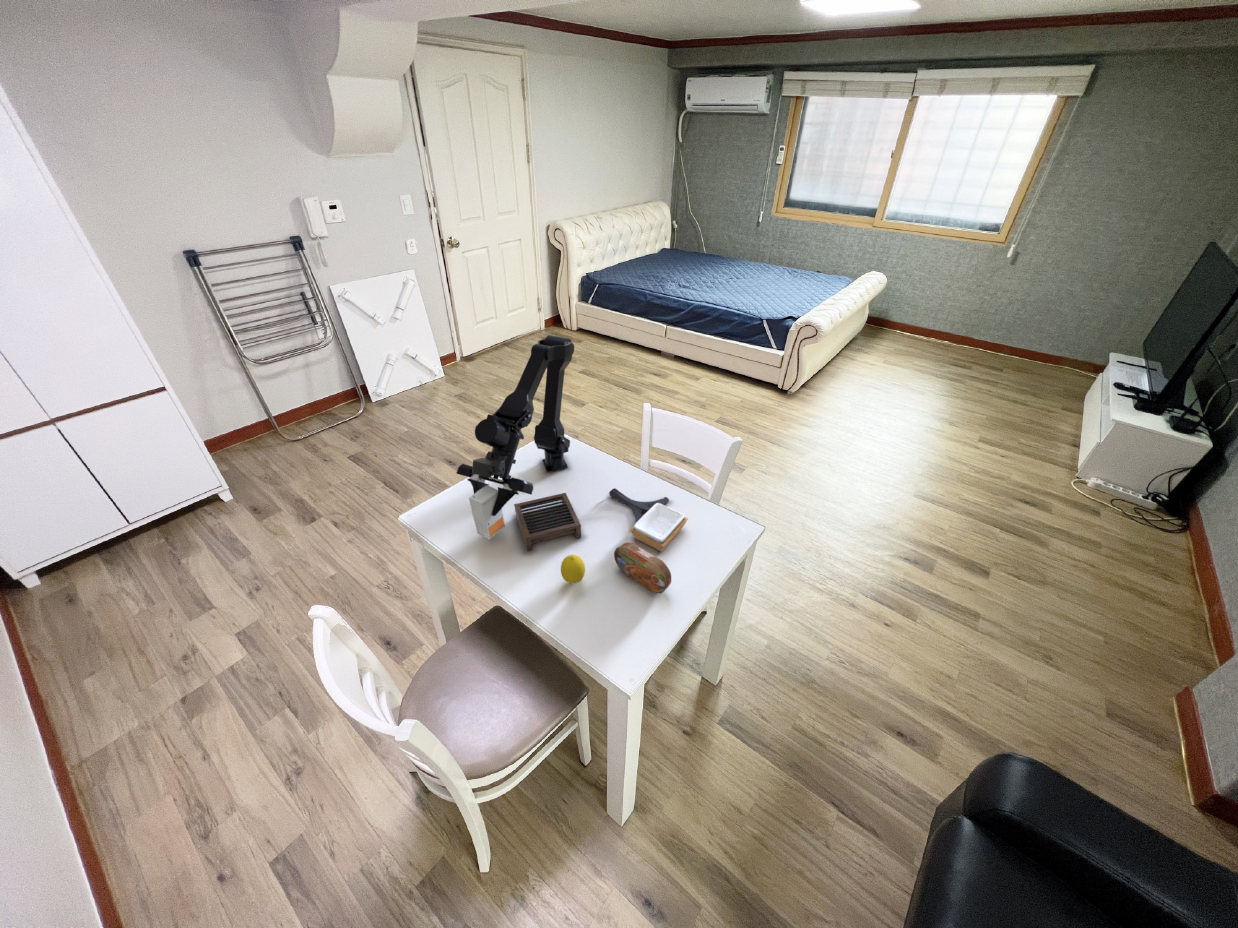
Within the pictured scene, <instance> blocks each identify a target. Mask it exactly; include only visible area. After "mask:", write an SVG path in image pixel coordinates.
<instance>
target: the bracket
mask: <svg viewBox="0 0 1238 928" xmlns="http://www.w3.org/2000/svg"><path fill="white" fill-rule="evenodd" d="M608 493H609V497H610V498H612V499H614V500H616V501H618V502H620V503H622V504H624V505H626V506H628V507H630V508H631V509H632V511H633V513H634V516H635V517H634V518H635V521H634V525H635V524H636V522H637V521H638V520H639V519H640V518H641V517H642V516H643V515H644V514H645V513H646V512H647V511H649V510H650V509H651V508H652V507H653V506H654V505H655V504H656V503H660V504H662V505H664V506H666V505H667V504H668V503H669V498H668V497H667V496H665V497H663V498H660V499H657V500H651V501H641V500H635V499H631V498H629V497H628V496H627V495H626V494H624V493H622V492H621V491H619V490H618V489H617V488H615V487H614V488H612V489H610V491H609V492H608Z"/></svg>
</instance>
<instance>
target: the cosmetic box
mask: <svg viewBox="0 0 1238 928" xmlns="http://www.w3.org/2000/svg"><path fill="white" fill-rule="evenodd" d="M497 496H498V489H497V488H494V487H492V486H490V485H489V486H488V485H486V486H485V487H483V488H482V489H480V490H479V491H477V492H476V493H475V494H474V493H473V494H472V495H470V496H469V497H468V500H469V501H468V502H469V505H470V509H471V513H472V516H473V521H474V527H475V531H476V534H477V535H479V536H480V537H482V538H484V539H486V540H488V541H490V539H492V538H493V537H494V536H496V535H497V533H499V532H500V531H501V530H503V529H504V528H506V523H505V517H504V513H503V508H502V509H501V510H500V511H499V512H498V513H497V515H496V516H492V512H493V508H494V505H495V502H496V499H497Z"/></svg>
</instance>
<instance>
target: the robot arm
mask: <svg viewBox="0 0 1238 928" xmlns="http://www.w3.org/2000/svg"><path fill="white" fill-rule="evenodd" d="M574 352H575V344H574V343H573V342H572V339H570V338H568V337H563V336H557V335H552V334H548V335H546V337H545V338H542V339H538V340H537V343H535V344H533V345H532V346H531V349H530V356H529V358H528V361H527V362H526V365H525V366H524V369H523V372H522V374H521V376H520V378H519V380H518V382H517V385H516V387H515V389H514V391H512V392H511V393H509V394H508V395H507V396H506V397H505V398H504V400H503V402H502V403H501V405H500V407H498V409H496V410H495V412H494V413H493V414H490V413H488V414H487V416H486V418H484V419H482V420H480V421H479V422H478V423H477V425H475V428H474V436H475V439H476V440H477V441H478V442H480V443H482V444H484V445H487V446H489V447H491V451H487V452H486V455H485V457H479V458H476V459H473V460H472V465H468V464H466V463H461V464H460V465H459V466H458V467H457V470H456V475H460V476H464V477H468V478H466V479H467V481H468V482H470V484H471V486H472V492H473V495H474V494H475V493H476V492H477V491H479V490H480V489H482V488H483V487H485V486H486V485H488V486H490V484H489V483H486V481H488V482H492V483H495V484H499V485H502V487H500V486H498V487H497V490H498V496H497V499H496V502H495V505H494V508H493V512H492V516H496V515H497V513H498V512H499V511H500V510H501V509H502V510H503V508H504V507H505V505H506V504H507V503H508V502H509V501H510V500H511V499H512V498H513V497H514V496H515V495H517V496H519V494H520V492H521V493H523V494H528V495H531V496H532V495H533V492H534V485H533V483H532V482H530V481H526V480H524V479H520V478H516V477H513V476H512V475H510V473H511V470H512V467H513V464H514V465H516V462H517V460H516V459H515V457H516V453H517V450H518V446H519V444H520V440H524V439H525V436H524V433H523V432H522V429H524V428H527V427H528V426H529V425H530V424H531V422H532V420H533V415H534V411H535V408H534V398H535V395H536V394H537V391H538V389H539V386H540V384H541V382H542V379H543V377H544V375H545V373H546V375H545V388H544V399H543V412H542V419H541V420H540V421H539V423H538V424H536V425H535V427H534V435H533V441H534V445H535V446H536V448H537V449H538V450H543V453H544V458H543V459H542V464H543V465H544V466H543V467H544V469H545V470H546V471H545V472H546V473H551V472H555V471H560V470H565V469H568V468H569V466H568V464H567V461H566V460H565V454H566V453H569V448H570V447H571V440H570V439H569V438H567V437H565V427H564V425H563V423H562V421H561V410H562V403H563V390H564V382H565V381H564V379H565V370H566V369H567V367H568V366H569V365H570V363H571V362H572V361H573V355H574Z"/></svg>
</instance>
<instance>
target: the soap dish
mask: <svg viewBox="0 0 1238 928" xmlns="http://www.w3.org/2000/svg"><path fill="white" fill-rule="evenodd" d="M650 508H651V509H650V510H649V511H647V512H646V513H645V514H644V513H643V514H642V515H643V516H642V517H641V518H640V519H639V520H638V521H637V522H636V524H635V523H634V524H633V526H632V527H631V528H630V530H629V531H630V533H631V534H632V535H633V537H634V539H636V540H638V541H639V542H641V543H644V544H646V545H648V546H649V547H651V548H653V549H655V550H658V552H660V553H662V552H663V551H664V549H666V547H667V546H668V545H670V543H671V542H672V541H673V539H674V538H675V537H676V536H677V535H678V534H679V532H680V531H681V530H682V529H683V528H684V526H685V524H686V523H687V521H688V520H689V519H688V517H686V516H685V514H684V513H682V512H680V511H677V510H675V509H673V508H671V507H669V506H666V505H662V504H660V503H656V504H655V505H654V506H653V507H650Z"/></svg>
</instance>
